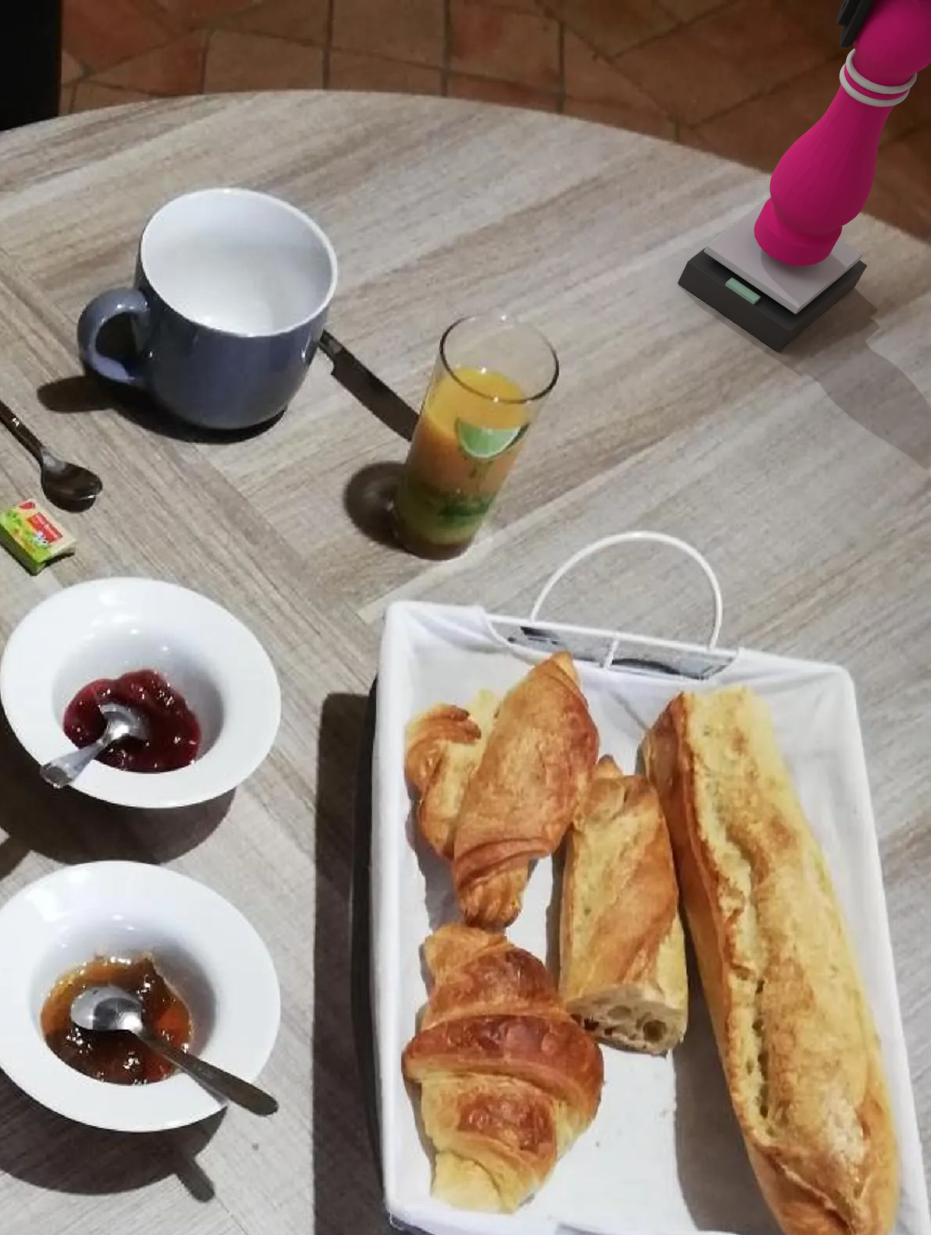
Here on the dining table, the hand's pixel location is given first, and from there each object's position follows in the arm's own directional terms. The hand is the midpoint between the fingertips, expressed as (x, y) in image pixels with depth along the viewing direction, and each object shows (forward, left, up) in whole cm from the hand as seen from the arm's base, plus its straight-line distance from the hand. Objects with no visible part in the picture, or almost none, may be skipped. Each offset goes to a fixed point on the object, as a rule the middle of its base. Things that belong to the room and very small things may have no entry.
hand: (894, 44), depth 115 cm
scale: (0, 0, -19) cm, 19 cm away
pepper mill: (0, 0, -15) cm, 15 cm away
